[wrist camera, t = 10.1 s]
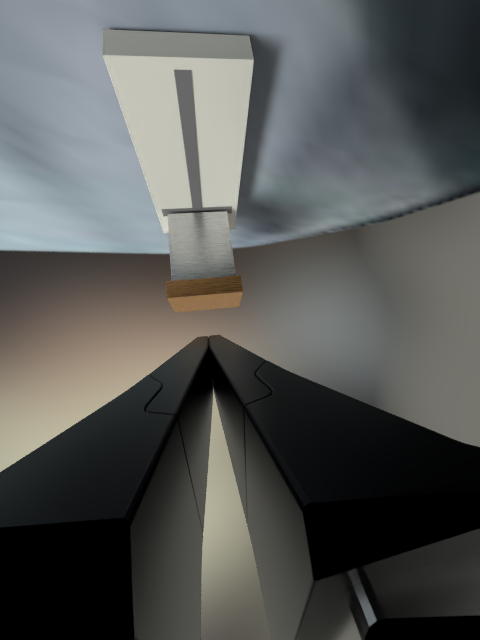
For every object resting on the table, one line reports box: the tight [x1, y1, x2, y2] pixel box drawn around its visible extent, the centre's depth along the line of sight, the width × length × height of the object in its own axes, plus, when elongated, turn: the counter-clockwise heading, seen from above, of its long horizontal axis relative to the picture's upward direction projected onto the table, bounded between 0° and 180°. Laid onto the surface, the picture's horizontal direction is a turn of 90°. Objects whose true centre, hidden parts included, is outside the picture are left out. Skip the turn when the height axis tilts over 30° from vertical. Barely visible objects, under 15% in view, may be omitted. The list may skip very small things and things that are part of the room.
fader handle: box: [166, 211, 243, 312], centre depth 19 cm, size 3×5×7 cm, turn 84°
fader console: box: [103, 29, 254, 233], centre depth 16 cm, size 12×6×2 cm, turn 174°
